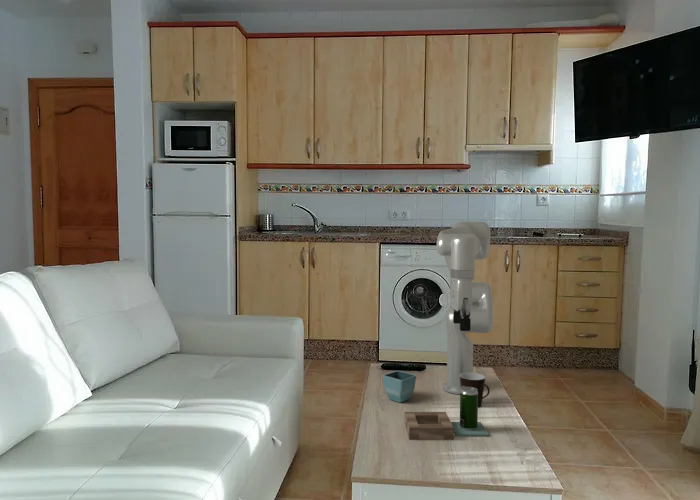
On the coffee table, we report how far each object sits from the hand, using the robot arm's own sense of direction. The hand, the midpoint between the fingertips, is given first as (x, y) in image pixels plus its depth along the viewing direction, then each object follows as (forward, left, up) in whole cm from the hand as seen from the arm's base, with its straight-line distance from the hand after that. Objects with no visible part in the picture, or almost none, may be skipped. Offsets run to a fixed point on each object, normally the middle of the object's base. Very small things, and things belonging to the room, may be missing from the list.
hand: (461, 326), depth 172 cm
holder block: (+12, -12, -30) cm, 34 cm away
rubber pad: (+11, 0, -30) cm, 32 cm away
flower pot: (-16, -18, -30) cm, 38 cm away
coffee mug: (-10, +7, -30) cm, 32 cm away
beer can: (+11, 0, -29) cm, 31 cm away
